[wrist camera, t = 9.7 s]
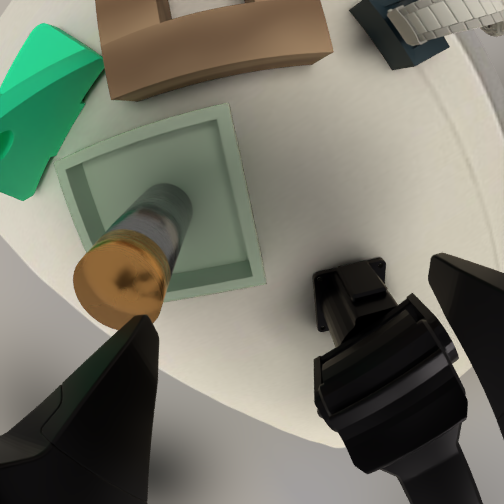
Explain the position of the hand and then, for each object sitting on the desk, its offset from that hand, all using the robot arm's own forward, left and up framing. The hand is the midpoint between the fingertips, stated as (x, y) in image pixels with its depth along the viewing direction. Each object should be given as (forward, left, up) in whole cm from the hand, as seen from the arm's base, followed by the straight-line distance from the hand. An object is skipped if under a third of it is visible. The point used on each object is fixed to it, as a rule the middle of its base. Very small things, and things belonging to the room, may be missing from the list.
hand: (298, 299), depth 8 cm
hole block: (+14, +1, -13) cm, 19 cm away
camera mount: (+11, +15, -13) cm, 23 cm away
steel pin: (0, +7, -12) cm, 14 cm away
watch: (+11, -12, -13) cm, 21 cm away
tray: (0, +7, -13) cm, 15 cm away
